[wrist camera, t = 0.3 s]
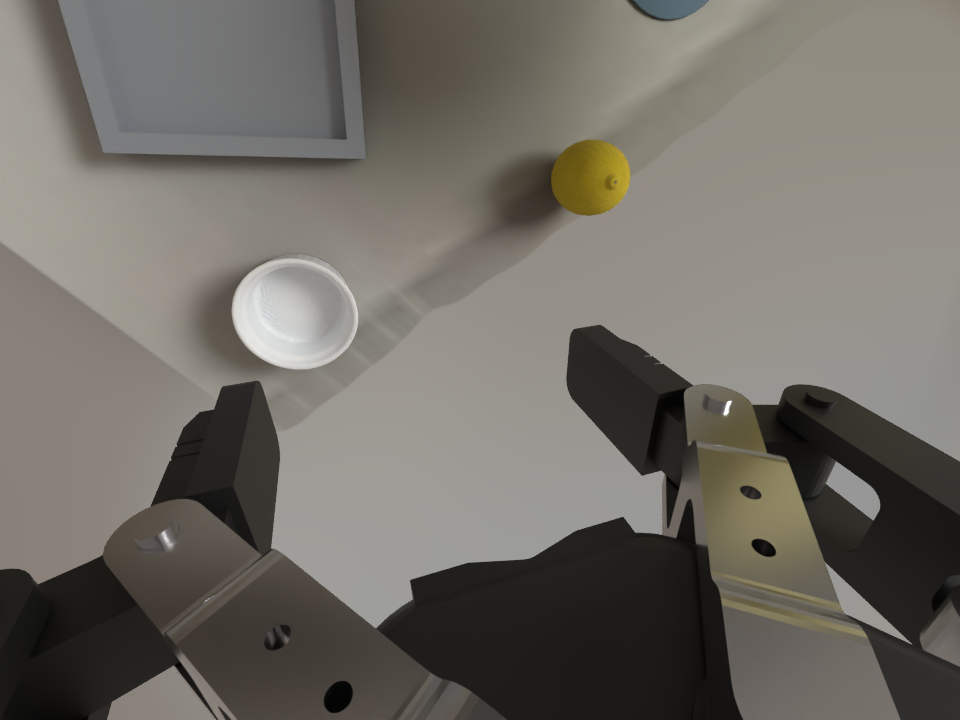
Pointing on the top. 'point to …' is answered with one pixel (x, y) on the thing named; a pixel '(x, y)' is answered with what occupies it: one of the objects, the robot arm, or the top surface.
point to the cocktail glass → (670, 7)
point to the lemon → (590, 177)
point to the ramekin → (295, 312)
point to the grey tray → (221, 76)
